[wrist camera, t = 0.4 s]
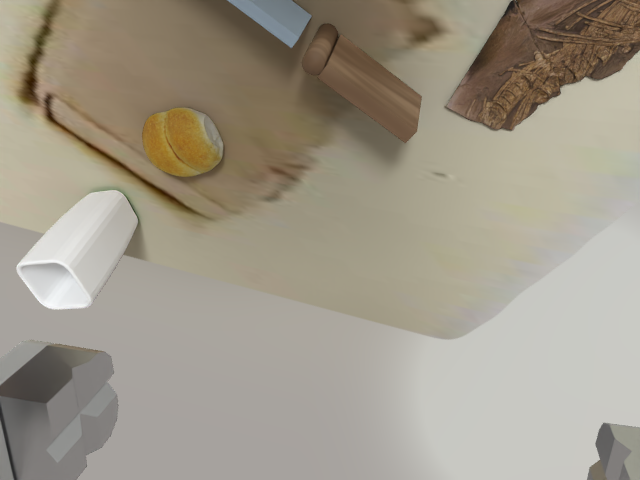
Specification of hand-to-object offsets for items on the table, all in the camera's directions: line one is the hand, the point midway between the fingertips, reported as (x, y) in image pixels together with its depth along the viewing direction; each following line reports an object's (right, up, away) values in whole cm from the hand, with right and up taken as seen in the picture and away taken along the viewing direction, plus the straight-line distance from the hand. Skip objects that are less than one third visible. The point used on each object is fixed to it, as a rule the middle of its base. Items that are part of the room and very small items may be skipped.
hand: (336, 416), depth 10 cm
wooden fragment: (+22, +22, +43) cm, 53 cm away
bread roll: (-15, +15, +58) cm, 62 cm away
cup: (-27, +7, +67) cm, 72 cm away
